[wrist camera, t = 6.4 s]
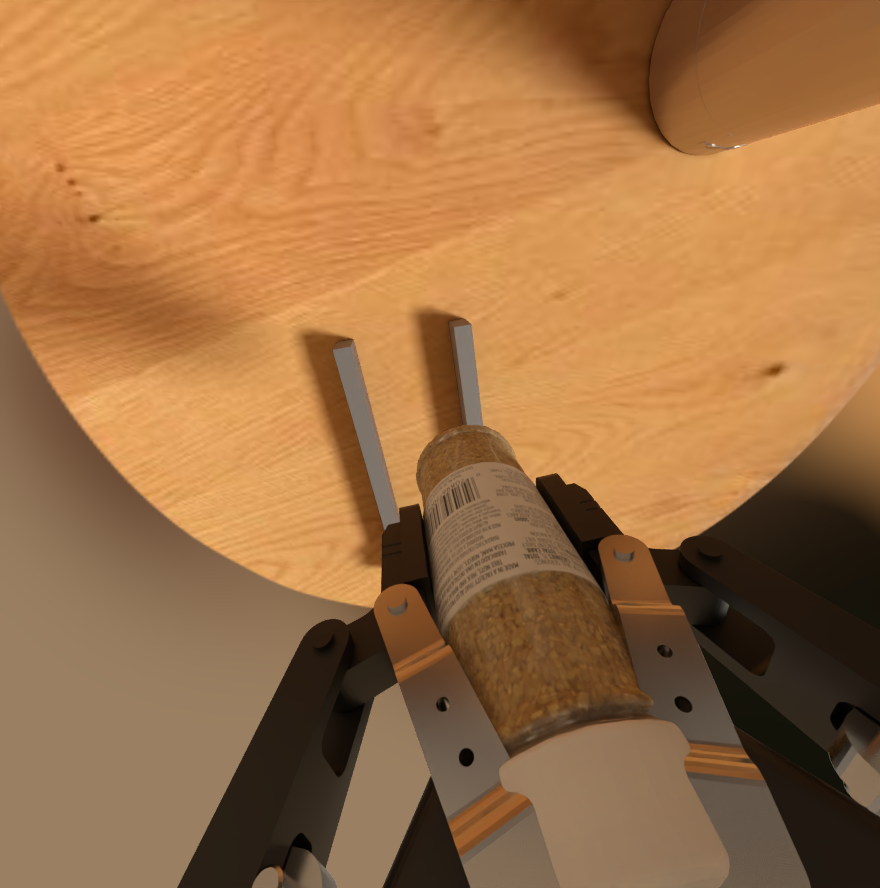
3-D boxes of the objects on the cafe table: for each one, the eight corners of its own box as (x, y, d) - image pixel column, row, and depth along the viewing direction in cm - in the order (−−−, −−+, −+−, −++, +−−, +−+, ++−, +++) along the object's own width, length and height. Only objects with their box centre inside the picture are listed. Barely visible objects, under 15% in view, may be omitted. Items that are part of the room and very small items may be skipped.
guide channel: (336, 342, 27) (330, 353, 24) (464, 318, 28) (474, 326, 24) (399, 567, 37) (401, 595, 34) (492, 547, 38) (501, 573, 35)
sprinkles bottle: (448, 523, 18) (563, 1024, 6) (394, 455, 16) (417, 1008, 4) (531, 475, 18) (829, 935, 6) (486, 399, 16) (804, 868, 4)
